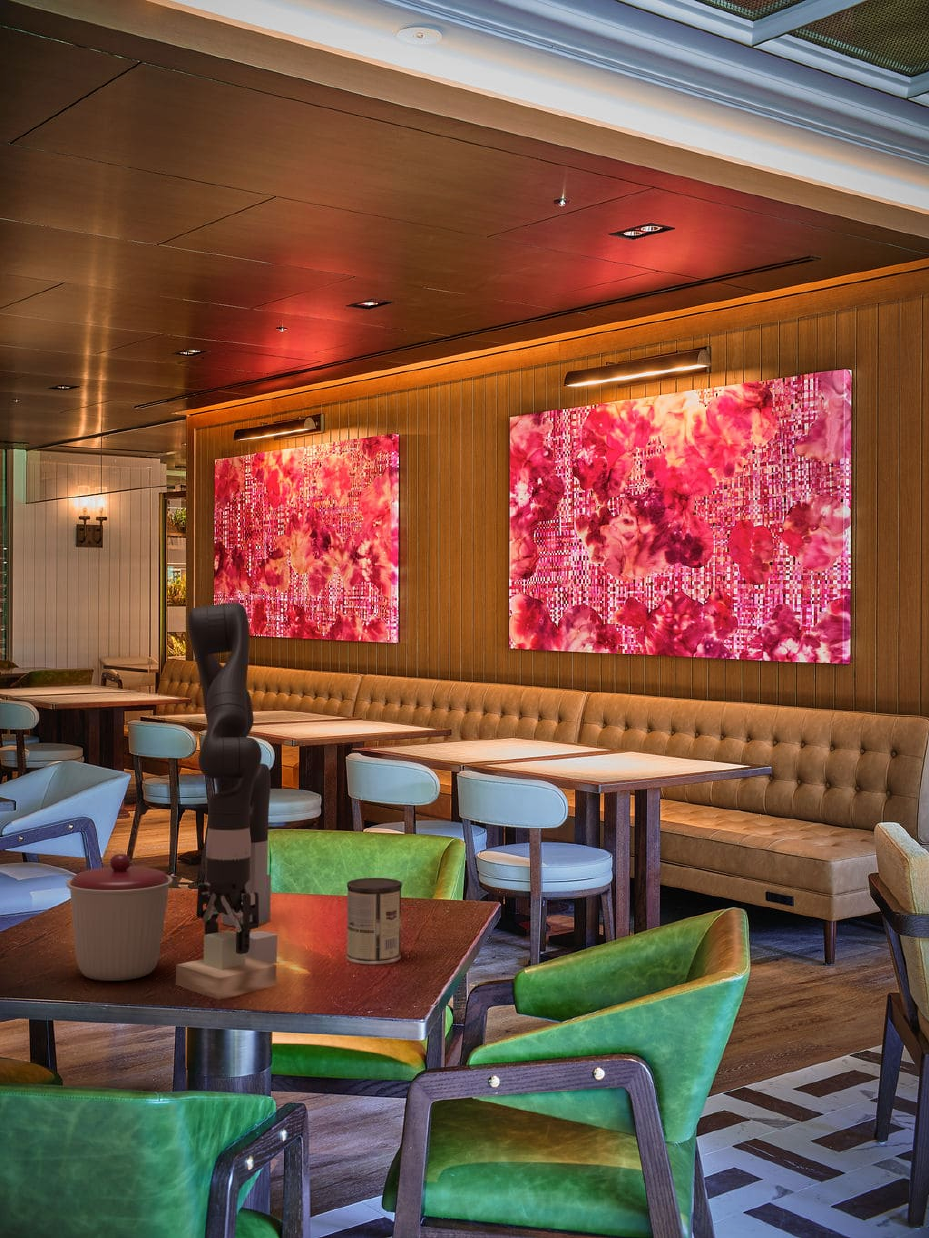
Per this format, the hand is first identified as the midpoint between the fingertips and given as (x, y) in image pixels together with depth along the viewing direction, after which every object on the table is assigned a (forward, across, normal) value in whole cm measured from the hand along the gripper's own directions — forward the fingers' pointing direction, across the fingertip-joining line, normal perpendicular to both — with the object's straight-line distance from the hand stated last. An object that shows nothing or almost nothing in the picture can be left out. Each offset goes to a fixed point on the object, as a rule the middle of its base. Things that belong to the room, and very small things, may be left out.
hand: (226, 948), depth 215 cm
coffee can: (+6, -4, -31) cm, 32 cm away
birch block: (+7, 0, 0) cm, 7 cm away
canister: (+6, +19, +9) cm, 22 cm away
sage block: (+3, 0, 0) cm, 3 cm away
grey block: (+6, +9, -14) cm, 18 cm away
